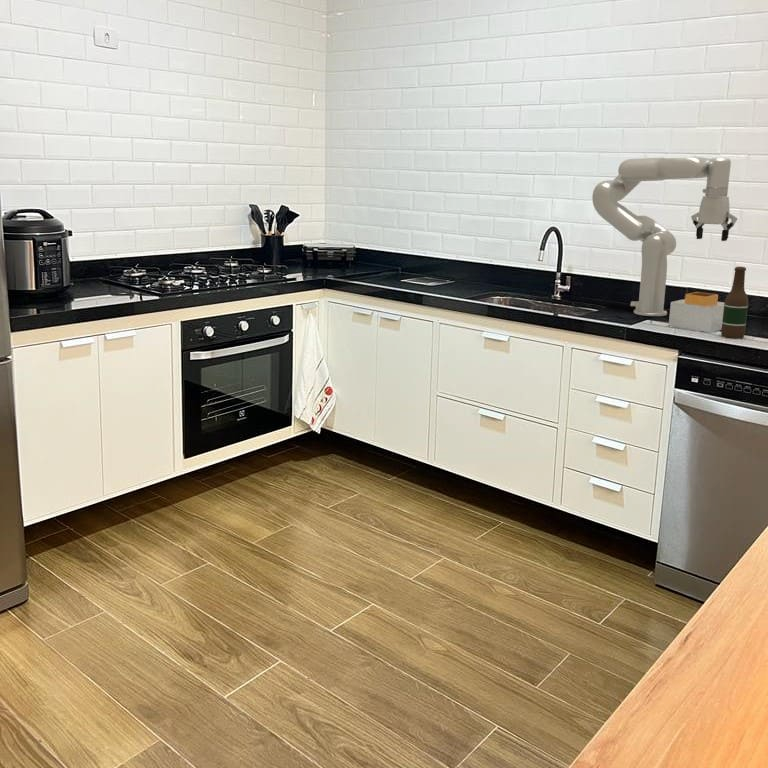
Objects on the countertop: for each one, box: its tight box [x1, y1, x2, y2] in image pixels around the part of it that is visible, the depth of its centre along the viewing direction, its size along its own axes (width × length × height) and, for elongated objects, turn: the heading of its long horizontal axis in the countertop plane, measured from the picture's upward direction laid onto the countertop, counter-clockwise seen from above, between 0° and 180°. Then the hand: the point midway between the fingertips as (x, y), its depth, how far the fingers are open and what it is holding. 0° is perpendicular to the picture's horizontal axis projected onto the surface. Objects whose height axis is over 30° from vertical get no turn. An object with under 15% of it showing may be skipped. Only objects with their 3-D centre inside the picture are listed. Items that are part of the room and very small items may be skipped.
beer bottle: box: [720, 266, 749, 339], centre depth 286 cm, size 8×8×24 cm
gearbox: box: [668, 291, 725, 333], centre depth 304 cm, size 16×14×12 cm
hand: (711, 239), depth 311 cm, fingers open, 9 cm apart
